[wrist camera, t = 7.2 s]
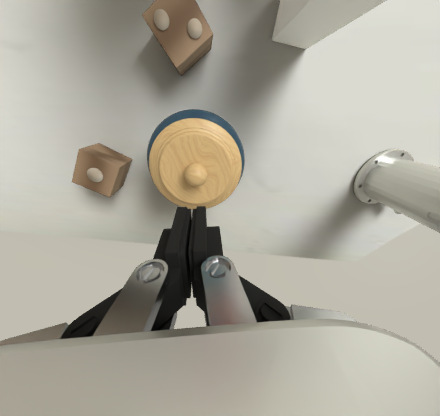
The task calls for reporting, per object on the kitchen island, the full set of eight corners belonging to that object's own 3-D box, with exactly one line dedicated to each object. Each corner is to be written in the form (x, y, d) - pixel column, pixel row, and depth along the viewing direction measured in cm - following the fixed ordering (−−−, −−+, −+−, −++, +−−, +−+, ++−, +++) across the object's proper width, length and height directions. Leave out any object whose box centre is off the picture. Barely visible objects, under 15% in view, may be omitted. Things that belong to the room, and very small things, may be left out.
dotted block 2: (211, 48, 27) (213, 33, 22) (181, 75, 29) (176, 67, 23) (185, 2, 25) (180, -28, 19) (154, 34, 26) (141, 14, 21)
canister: (234, 176, 38) (256, 221, 22) (173, 184, 37) (152, 235, 22) (229, 106, 31) (255, 100, 16) (155, 114, 31) (109, 117, 16)
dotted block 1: (132, 159, 34) (119, 168, 29) (123, 184, 36) (109, 197, 31) (99, 143, 32) (78, 149, 27) (91, 171, 35) (71, 182, 29)
